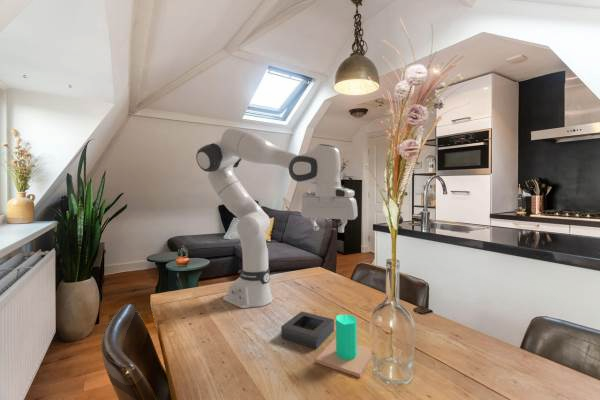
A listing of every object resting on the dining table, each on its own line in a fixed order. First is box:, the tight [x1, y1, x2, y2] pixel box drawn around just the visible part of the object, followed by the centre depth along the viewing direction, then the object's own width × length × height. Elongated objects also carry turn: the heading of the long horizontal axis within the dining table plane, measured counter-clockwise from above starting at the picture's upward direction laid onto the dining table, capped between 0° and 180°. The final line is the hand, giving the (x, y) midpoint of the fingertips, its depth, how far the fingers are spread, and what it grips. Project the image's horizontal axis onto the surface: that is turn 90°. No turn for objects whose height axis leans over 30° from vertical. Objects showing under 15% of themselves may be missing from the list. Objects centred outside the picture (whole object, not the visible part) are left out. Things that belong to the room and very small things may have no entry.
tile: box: [315, 337, 373, 378], centre depth 84 cm, size 13×13×1 cm
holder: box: [280, 311, 335, 350], centre depth 98 cm, size 13×13×4 cm
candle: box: [335, 314, 358, 360], centre depth 84 cm, size 6×6×12 cm
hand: (328, 231), depth 101 cm, fingers open, 8 cm apart
